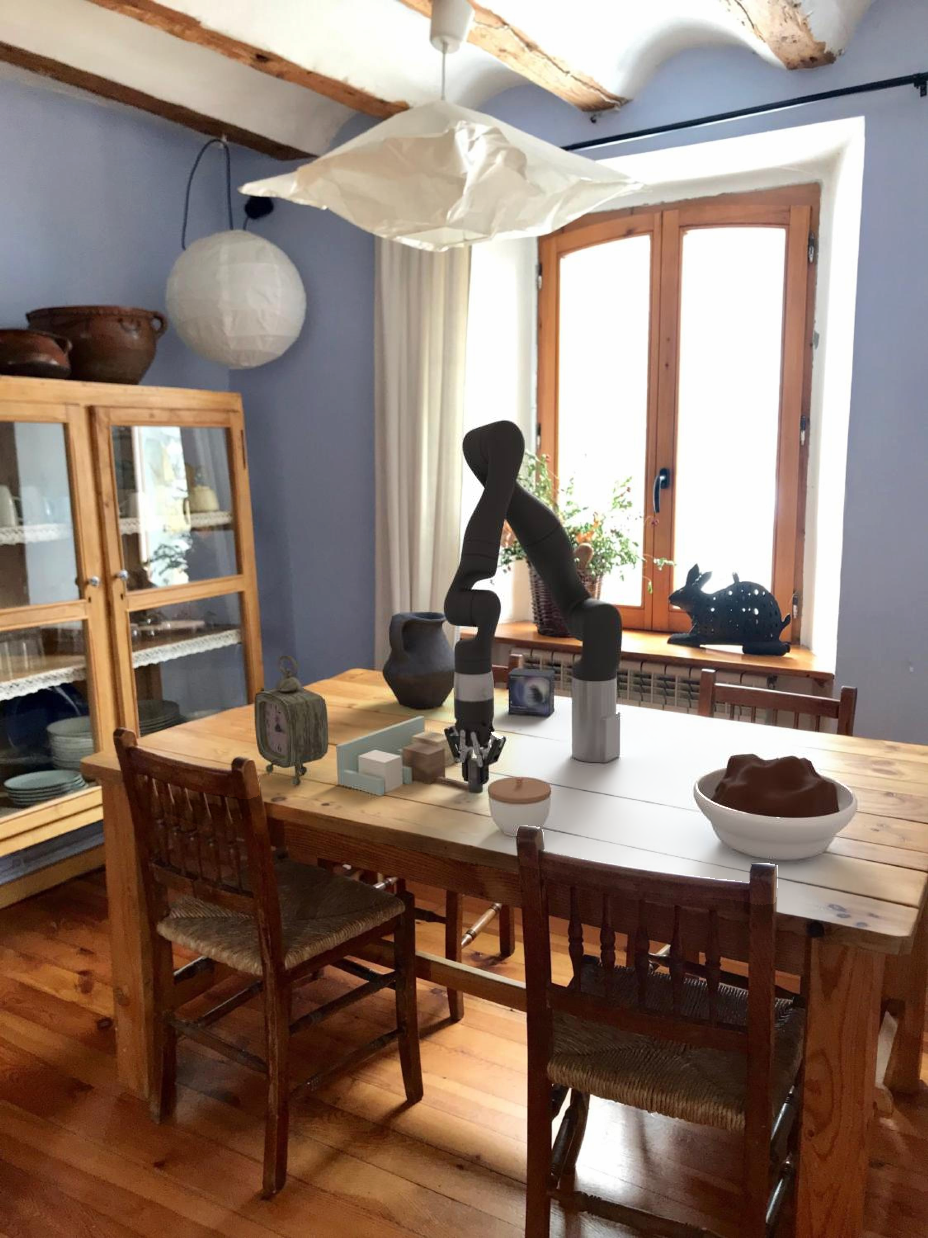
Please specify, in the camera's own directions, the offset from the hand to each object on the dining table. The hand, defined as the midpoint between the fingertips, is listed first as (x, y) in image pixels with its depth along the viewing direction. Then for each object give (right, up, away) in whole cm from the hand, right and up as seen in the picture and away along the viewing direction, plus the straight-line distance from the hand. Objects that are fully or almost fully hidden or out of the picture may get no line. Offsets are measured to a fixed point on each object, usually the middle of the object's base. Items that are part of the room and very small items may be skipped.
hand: (475, 781), depth 183 cm
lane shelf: (-14, 0, +11) cm, 18 cm away
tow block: (-6, -1, +5) cm, 8 cm away
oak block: (-9, +1, +17) cm, 19 cm away
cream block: (-18, -1, +4) cm, 19 cm away
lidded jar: (+7, -5, -19) cm, 21 cm away
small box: (+15, +8, +54) cm, 56 cm away
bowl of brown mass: (+48, -6, -28) cm, 55 cm away
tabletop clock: (-36, -1, +11) cm, 38 cm away
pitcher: (-13, +9, +63) cm, 65 cm away
